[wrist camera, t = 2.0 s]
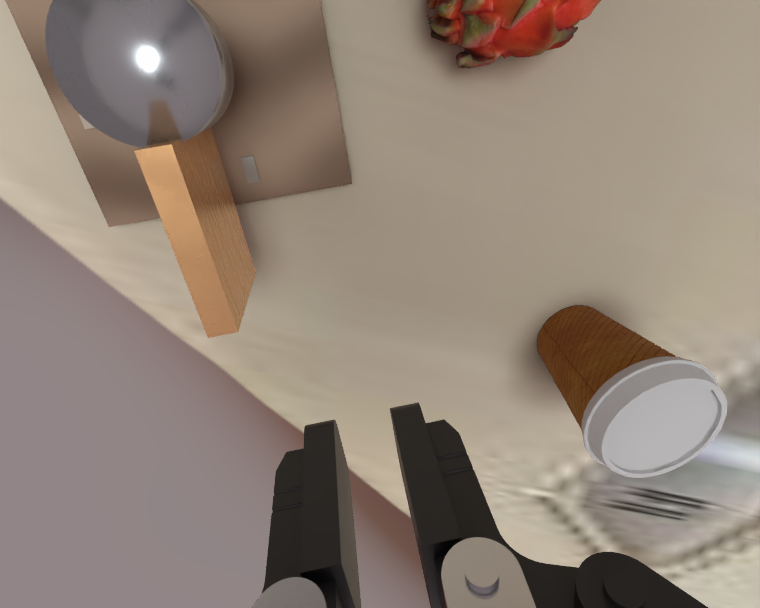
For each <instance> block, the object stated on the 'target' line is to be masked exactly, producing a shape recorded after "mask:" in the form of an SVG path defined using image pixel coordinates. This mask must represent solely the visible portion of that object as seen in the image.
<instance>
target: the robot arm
mask: <svg viewBox="0 0 760 608" xmlns="http://www.w3.org/2000/svg"><path fill="white" fill-rule="evenodd" d="M390 413H391V418H392V424H393V430H394V435H395V441H396V447H397V452H398V458H399V463H400V468H401V473H402V477H403V482H404V487H405V491H406V496H407V500H408V505H409V510H410V514H411V519H412V523H413V528H414V532H415V537H416V541H417V546H418V551H419V555H420V560H421V565H422V569H423V574H424V578H425V583H426V588H427V592H428V597H429V602H430V606H431V608H708V607H706V606H705V605H703V604H702V603H701V602H699V601H698V600H696V599H695V598H693V597H692V596H690V595H689V594H687V593H686V592H684V591H683V590H681V589H680V588H678V587H677V586H675V585H674V584H672V583H671V582H669V581H668V580H667V579H665V578H664V577H662V576H661V575H659V574H658V573H656V572H655V571H653V570H652V569H650V568H649V567H647V566H646V565H644V564H643V563H641V562H639V561H638V560H636V559H634V558H632V557H629V556H627V555H624V554H620V553H615V552H601V553H596V554H594V555H591V556H590V557H588V558H586V559H585V560H584V561H583V562H582V564H581V565H580V567H579V568H576V567H568V566H560V565H552V564H545V563H539V562H536V561H533V560H530V559H528V558H526V557H524V556H522V555H520V554H519V553H517V552H516V551H515V550H513V549H512V548H511V547H510V546H509V545H508V544H507V543H506V542H505V541H504V539H503V538H502V536H501V535H500V533H499V531H498V529H497V526H496V524H495V521H494V519H493V516H492V514H491V511H490V509H489V506H488V504H487V502H486V499H485V497H484V494H483V492H482V489H481V487H480V484H479V482H478V479H477V477H476V474H475V472H474V470H473V467H472V464H471V462H470V459H469V457H468V455H467V453H466V449H465V447H464V444H463V442H462V440H461V437H460V435H459V433H458V432H457V431H456V430H455V429H454V428H453V427H452V426H451V425H450V424H449V423H447V422H446V421H445V420H440V421H435V422H430V423H425V420H424V417H423V414H422V411H421V408H420V405H419V403H414V404H409V405H404V406H399V407H394V408H390ZM272 510H273V513H272V516H271V527H270V536H269V546H268V557H267V566H266V577H265V584H264V588H263V591H262V594H261V595H260V597H259V598H258V599H257V600H256V602H255V603H254V605H253V607H252V608H361V599H360V588H359V576H358V564H357V553H356V541H355V532H354V531H355V530H354V519H353V508H352V495H351V485H350V478H349V472H348V467H347V462H346V458H345V454H344V450H343V447H342V443H341V439H340V435H339V431H338V427H337V424H336V421H335V420H330V421H325V422H320V423H316V424H311V425H306V426H305V429H304V449H300V450H294V451H289V452H286V454H285V456H284V458H283V459H282V461H281V463H280V465H279V467H278V469H277V470H276V476H275V486H274V497H273V507H272Z"/></svg>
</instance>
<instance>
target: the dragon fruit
mask: <svg viewBox="0 0 760 608" xmlns="http://www.w3.org/2000/svg"><path fill="white" fill-rule="evenodd" d="M600 1H601V0H427V4H428V6H429V8H431V9H434V10H435V11H436V14H435V15H434V16H433V18H432V17H431V18H430V17H429V16H428V15H427V17H428V20H429V24H430V28H431V36H432V38H435V39H438V40H441V41H443V42H446V43H448V44H453V45H454V44H456V43H458V44H459V46H461V47H464V48H465V51H464V52H460V53H459V54H457V56H456V60H457V65H458V67H459V68H473V67H479V66H483V65H488V64H490V63H492V62H494V61H495V60H496V59H497V58H498V57H499V56H500V55H502V56H503V57H504V58H506V57H508V56H510V55H511V56H512V55H513V56H514V57H530V56H535V55H539V54H541V53H543V52H544V51H546V50H550V49H554V48H559V47H562V46H563V45H565V44H566V43H567V42H569V41H570V39H571V38H572V37H573V34H574V33H575V32H576V30H577V29H578V27H576V28H575V27H574V26H575V25H576V24H577V23H578V22H579V21H580V20H583V19H585V18H587V17H588V16H589V15H590V14H591V13H592V11H593V10H594V8H595V7H596V5H597V4H598V3H599V2H600Z"/></svg>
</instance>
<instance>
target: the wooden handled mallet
mask: <svg viewBox="0 0 760 608" xmlns="http://www.w3.org/2000/svg"><path fill="white" fill-rule="evenodd" d="M45 43H46V50H47V56H48V59H49V63H50V67H51V69H52V72H53V75H54V77H55V79H56V81H57V83H58V85H59V87H60V89H61V91H62V92H63V94H64V95H65V97H66V98H67V100H68V101H69V102H70V104H71V105H72V106H73V107H74V109H75V110H76V111H77V112H78V113H79V114H80V115H81V116H82V117H83V118H84V119H85V120H86V121H88V122H89V123H90V124H91V125H92V126H93V127H95V128H96V129H98V130H99V131H101V132H102V133H104V134H106V135H107V136H109V137H111V138H113V139H115V140H118V141H120V142H122V143H125V144H129V145H132V146H136V147H142V148H139V149H137V150H134V152H135V154H136V157H137V159H138V162H139V164H140V167H141V170H142V172H143V175H144V177H145V180H146V182H147V185H148V187H149V190H150V192H151V195H152V197H153V200H154V202H155V205H156V207H157V210H158V213H159V215H160V218H161V220H162V223H163V225H164V228H165V230H166V233H167V235H168V238H169V240H170V243H171V245H172V248H173V250H174V253H175V256H176V258H177V261H178V263H179V266H180V268H181V271H182V273H183V276H184V278H185V281H186V283H187V286H188V288H189V291H190V293H191V296H192V299H193V301H194V304H195V306H196V309H197V311H198V314H199V316H200V319H201V321H202V324H203V326H204V329H205V331H206V334H207V336H208V338H209V337H214V336H219V335H225V334H230V333H235V332H238V330H239V327H240V324H241V320H242V317H243V314H244V310H245V307H246V304H247V301H248V297H249V294H250V291H251V287H252V284H253V281H254V278H255V274H256V272H255V268H254V265H253V262H252V259H251V255H250V252H249V249H248V246H247V242H246V239H245V236H244V233H243V229H242V226H241V223H240V220H239V216H238V213H237V210H236V207H235V203H234V200H233V197H232V194H231V190H230V187H229V184H228V181H227V177H226V174H225V171H224V168H223V164H222V161H221V158H220V155H219V151H218V148H217V145H216V142H215V138H214V135H213V132H212V129H211V127H212V126H213V125H214V124H216V123H217V122H218V120H219V119H220V118H221V117H222V116H223V114H224V113H225V111H226V110H227V107H228V105H229V103H230V100H231V97H232V94H233V87H234V67H233V61H232V56H231V53H230V50H229V47H228V44H227V42H226V40H225V38H224V35H223V34H222V32H221V30H220V29H219V27H218V25H217V24H216V23H215V21H214V20H213V19H212V17H211V16H210V15H209V14H208V13H207V12H206V11H205V10H204V9H203V8H202V7H201V6H200V5H199V4H197V3H196V2H195V1H194V0H53V1H52V3H51V5H50V8H49V11H48V15H47V19H46V26H45Z"/></svg>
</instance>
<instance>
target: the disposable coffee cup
mask: <svg viewBox="0 0 760 608" xmlns="http://www.w3.org/2000/svg"><path fill="white" fill-rule="evenodd" d="M537 348H538V352H539V354H540V356H541V358H542V359H543V361H544V363H545V364H546V366H547V368H548V370H549V372H550V374H551V375H552V377H553V379H554V381H555V383H556V385H557V386H558V388H559V390H560V392H561V393H562V395H563V397H564V399H565V401H566V402H567V404H568V406H569V408H570V410H571V412H572V413H573V415H574V417H575V419H576V421H577V422H578V424H579V426H580V428H581V430H582V434H583V439H584V445H585V447H586V449H587V451H588V452H589V454H590V455H591V457H592V458H594V459H595V460H596V461H597V462H599V463H601V464H603V465H605V466H607V467H608V468H610V469H611V470H612V471H614V472H616V473H618V474H620V475H623V476H626V477H633V478H644V477H649V476H655V475H659V474H663V473H666V472H669V471H671V470H673V469H676V468H677V467H679V466H681V465H683V464H685V463H687V462H688V461H690V460H691V459H693V458H694V457H696V456H697V455H699V454H700V453H701V452H702V451H703V450H704V449H705V448H706V447H707V446H708V445H709V444H710V443H711V442H712V441H713V439H714V438H715V437H716V435H717V434H718V432H719V431H720V429H721V428H722V425H723V423H724V420H725V417H726V415H727V401H726V398H725V395H724V393H723V392H722V390H721V389H720V388H719V386H718V383H717V380H716V378H715V376H714V375H713V374H712V372H711V371H710V370H709V369H707V368H706V367H704V366H703V365H701V364H700V363H697V362H694V361H692V360H686V359H683V358H680V357H676V356H675V355H673V354H671V353H669V352H668V351H666V350H664V349H662V348H661V347H659V346H657V345H655V344H654V343H652V342H650V341H649V340H647V339H645V338H642V336H640V335H638V334H636V333H635V332H633V331H630V329H628V328H626V327H625V326H623V325H621V324H619V323H618V322H616V321H614V320H612V319H611V318H609V317H607V316H605V315H604V314H602V313H599V311H597V310H595V309H594V308H591V307H589V306H582V305H580V306H572V307H568V308H566V309H563V310H561V311H559V312H558V313H556V314H555V315H553V316H552V317H551V318H550V319H549V320H548V321H547V322H546V323H545V324H544V326H543V327H542V329H541V331H540V333H539V335H538V340H537Z"/></svg>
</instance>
